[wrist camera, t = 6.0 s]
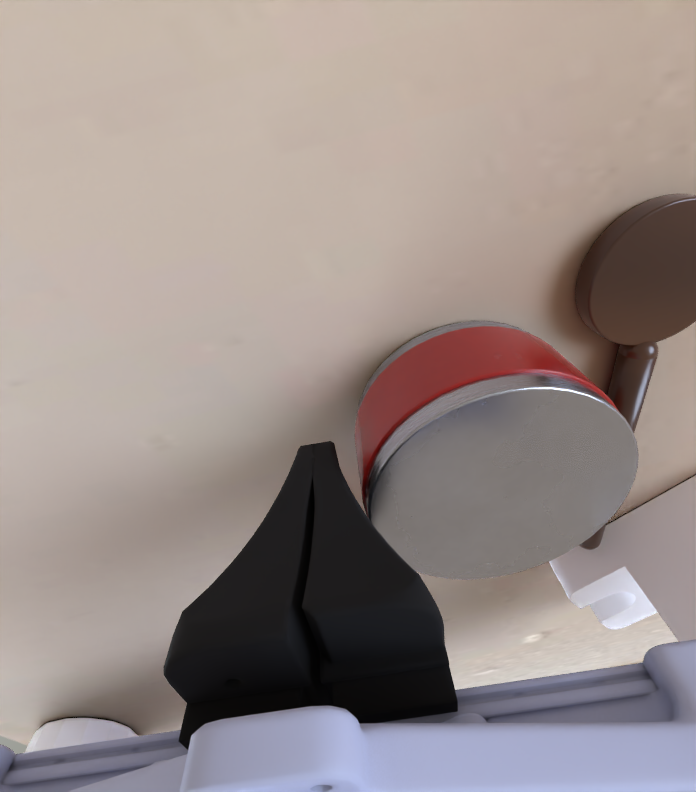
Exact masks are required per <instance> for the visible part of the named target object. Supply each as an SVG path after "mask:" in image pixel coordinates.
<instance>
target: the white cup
mask: <svg viewBox="0 0 696 792" xmlns="http://www.w3.org/2000/svg"><path fill="white" fill-rule="evenodd" d="M137 736H138V735H137V734H136V733H135V732H134V731H133V730H132V729H131V728H129V727H127V726H124V725H122V724H119V723H116V722H115V721H108V720H103V719H95V718H66V719H62V720H57V721H53V722H49V723H46V724H45V725H43V726H42V727H41V728H39V729H38V730H36V731H35V733H34V735H33V736H32V738H31V740H30V742H29V744H28V746H27V748H26V750H25V752H24V753H27V752H34V751H40V750H47V749H54V748H61V747H68V746H75V745H82V744H88V743H95V742H102V741H109V740H116V739H123V738H130V737H137Z"/></svg>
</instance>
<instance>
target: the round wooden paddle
mask: <svg viewBox="0 0 696 792" xmlns="http://www.w3.org/2000/svg"><path fill="white" fill-rule="evenodd" d="M575 293H576V304H577V309H578V311H579V314H580V316H581V318H582V319H583V321H584V322H585V323H586V325H587V326H588V327H590V328H591V329H592V330H594V331H595V332H596V333H598V334H599V335H601V336H602V337H604V338H605V339H607V340H609V341H611V342H613V343H617V344H621V345H620V347H619V349H618V353H617V358H616V362H615V366H614V370H613V374H612V378H611V382H610V387H609V391H608V395H607V396H608V397H609V398H610V399H611V400H612V401H613V403H614V405H615V406H616V408H617V409H618V411H619V412H620V413H621V414H622V415H623V416H624V417H625V419H626V420H627V422H628V424H629V425H630V427H631V428H632V431H633V433H634V431H635V428H636V425H637V421H638V418H639V415H640V412H641V408H642V405H643V402H644V398H645V395H646V392H647V389H648V385H649V382H650V379H651V375H652V372H653V369H654V365H655V362H656V359H657V356H658V346H657V343H656V342H658V341H661V340H664V339H666V338H668V337H671V336H673V335H675V334H677V333H678V332H680V331H682V330H684V329H685V328H687V327H688V326H690V325H691V324H692V323H694V322H695V321H696V196H695V195H688V194H671V195H665V196H661V197H657V198H654V199H651V200H649V201H646V202H644V203H642V204H640V205H638V206H636V207H634V208H632V209H631V210H629V211H628V212H626V213H624V214H623V215H622V216H621V217H619V218H618V219H617V220H615V221H614V222H613V223H612V224H611V225H610V226H609V227H608V228H607V229H606V230H605V231H604V232H603V233H602V234H601V235H600V237H599V238H598V239H597V240H596V242H595V243H594V244H593V246H592V247H591V249H590V251H589V252H588V254H587V256H586V257H585V260H584V262H583V264H582V266H581V269H580V272H579V274H578V279H577V283H576V292H575ZM606 524H607V523H606ZM606 524H605V525H604V526H603V527H601V528H600V529H599V530H598V531H597V532H596V533H595V534H593V535H592V536H591V537H590V538H588V539H587V540H585V541H584V542H583V543H581V544H580V545H579V546H580V547H582V548H584V549H587V550H592V549H595V548H597V547H598V546H599V545H600V543H601V540H602V537H603V533H604V530H605V527H606Z"/></svg>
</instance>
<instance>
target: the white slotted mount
mask: <svg viewBox="0 0 696 792" xmlns="http://www.w3.org/2000/svg"><path fill="white" fill-rule="evenodd" d="M549 563H550V565H551V567H552V569H553V571H554V572H555V574H556V576H557V578H558V580H559V582H560V583H561V585H562V587H563V589H564V591H565V592H566V594H567V596H568V598H569V600H570V601H571V602H572V603H573V604H575V605H576V606H578V607H579V608H580V609H582V608H584V607H586V606H588V605H590V607H591V608H592V610H593V612H594V614H595V615H596V617H597V619H598V620H599V622H600V623H602V624H603V625H604V626H606V627H607V628H609V629H620V628H624V627H626V626H628V625H630V624H633V623H635V622H637V621H639V620H641V619H644V618H646V617H648V616H650V615H652V614H655V613H657V612H658V613H659V615H660V616H661V617H662V619H663V620H664V621H665V623H666V624H667V626H668V627H669V628H670V630H671V631H672V633H673V634H674V635H675V637H676V638H677V639H678V641H679V642H681V641H688V640H694V639H696V475H695V476H694V477H692V478H690V479H688V480H686V481H685V482H683V483H681V484H679V485H677V486H676V487H674V488H672V489H670V490H669V491H667V492H665V493H663V494H661V495H660V496H658V497H656V498H654V499H652V500H651V501H649V502H647V503H645V504H644V505H642V506H640V507H638V508H636V509H635V510H633V511H631V512H629V513H627V514H626V515H624V516H622V517H620V518H619V519H617V520H615V521H613V522H611V523H610V524H608V525H606V527H605V530H604V533H603V537H602V540H601V543H600V545H599V546H598V547H597V548H595V549H592V550H587V549H584V548H582V547H580V546H579V545H578V546H577V547H575V548H573V549H572V550H570V551H568V552H567V553H565V554H563V555H561V556H559V557H557V558H555V559H553V560H551V561H549Z"/></svg>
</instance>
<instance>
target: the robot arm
mask: <svg viewBox="0 0 696 792" xmlns="http://www.w3.org/2000/svg"><path fill="white" fill-rule="evenodd" d="M164 676H165V678H166V679H167V681H168V682H169V684H170V685H171V686H172V687H173V688H174V689H175V690H176V692H177V693H178V694H179V695H180V696H181V697H182V698H183V699H184V700H185V701H186V702H187V706H186V710H185V714H184V719H183V723H182V727H181V730H178V731H171V732H164V733H157V734H150V735H143V736H137V737H130V738H123V739H116V740H109V741H102V742H95V743H88V744H82V745H75V746H68V747H61V748H54V749H47V750H40V751H34V752H27V753H20V754H15V753H14V751H12V750H11V749H10V748H8V747H6V746H4V745H1V744H0V792H696V639H694V640H688V641H681V642H674V643H667V644H662V645H658V646H655V647H653V648H651V649H649V650H648V651H647V652H646V654H645V656H644V660H643V663H638V664H631V665H624V666H617V667H610V668H604V669H597V670H590V671H583V672H576V673H569V674H562V675H555V676H549V677H542V678H535V679H528V680H521V681H514V682H507V683H501V684H494V685H487V686H480V687H473V688H466V689H459V690H455V688H454V684H453V680H452V676H451V672H450V668H449V660H448V656H447V652H446V648H445V642H444V624H443V620H442V616H441V614H440V611H439V609H438V607H437V605H436V603H435V601H434V599H433V597H432V595H431V594H430V592H429V590H428V589H427V587H426V585H425V584H424V582H423V581H422V579H421V577H420V576H419V574H418V573H417V572H416V571H415V570H413V569H412V568H411V567H410V566H409V565H408V564H407V563H406V562H405V561H404V560H403V559H402V558H401V557H400V556H399V555H398V554H397V553H396V551H395V550H394V549H393V548H392V547H391V546H390V545H389V544H388V543H387V541H386V540H385V539H384V538H383V537H382V535H381V534H380V533H379V532H378V531H377V529H376V528H375V527H374V525H373V524H372V523H371V521H370V520H369V519H368V517H367V516H366V514H365V513H364V511H363V510H362V508H361V507H360V505H359V504H358V502H357V500H356V499H355V497H354V495H353V493H352V492H351V490H350V488H349V486H348V484H347V482H346V480H345V478H344V476H343V474H342V472H341V469H340V467H339V463H338V458H337V454H336V449H335V445H334V443H333V442H331V441H328V442H322V443H316V444H310V445H304V446H301V447H300V448H299V449H298V452H297V455H296V457H295V460H294V462H293V465H292V467H291V469H290V472H289V474H288V476H287V478H286V480H285V482H284V484H283V486H282V488H281V490H280V492H279V494H278V496H277V498H276V500H275V501H274V503H273V505H272V507H271V509H270V510H269V512H268V514H267V515H266V517H265V518H264V520H263V522H262V523H261V525H260V526H259V528H258V529H257V530H256V532H255V533H254V535H253V536H252V538H251V539H250V540H249V541H248V543H247V544H246V545H245V547H244V548H243V549H242V551H241V552H240V553H239V554H238V556H237V557H236V558H235V559H234V560H233V562H232V563H231V564H230V565H229V566H228V567H227V568H226V569H225V570H224V572H223V573H222V574H221V575H220V576H219V577H218V578H217V579H216V580H215V581H214V582H213V584H212V585H211V586H210V587H209V588H208V589H207V590H205V591H204V592H203V593H202V594H201V595H200V596H199V597H198V598H197V599H196V600H195V601H194V602H193V603H192V604H190V605H189V606H188V607H187V608H186V609H185V610H184V611H183V612H182V614H181V617H180V619H179V622H178V624H177V626H176V629H175V632H174V634H173V637H172V641H171V644H170V648H169V651H168V655H167V658H166V661H165V665H164Z"/></svg>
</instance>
